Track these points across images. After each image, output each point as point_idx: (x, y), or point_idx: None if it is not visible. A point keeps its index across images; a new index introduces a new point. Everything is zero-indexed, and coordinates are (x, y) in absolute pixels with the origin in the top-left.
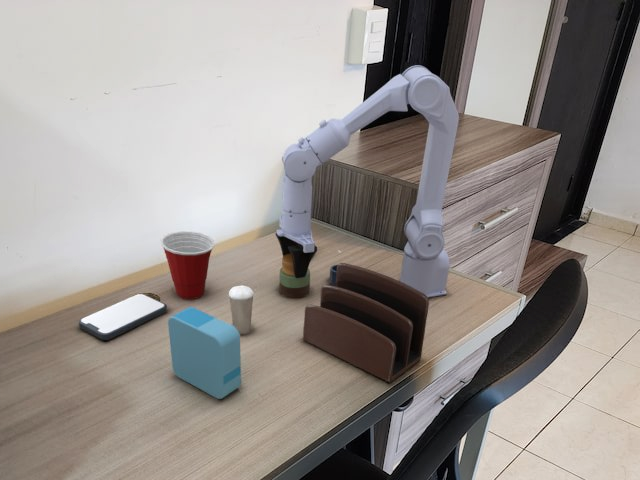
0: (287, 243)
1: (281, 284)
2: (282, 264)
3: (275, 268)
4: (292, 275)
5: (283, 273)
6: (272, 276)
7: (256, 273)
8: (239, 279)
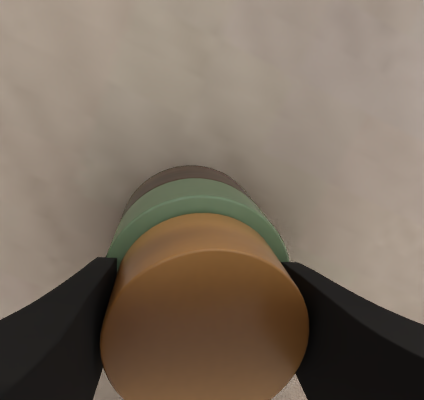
0: (367, 396)
1: (186, 177)
2: (225, 232)
3: (413, 239)
4: None
5: (191, 209)
6: (358, 198)
7: (420, 143)
8: (414, 35)
